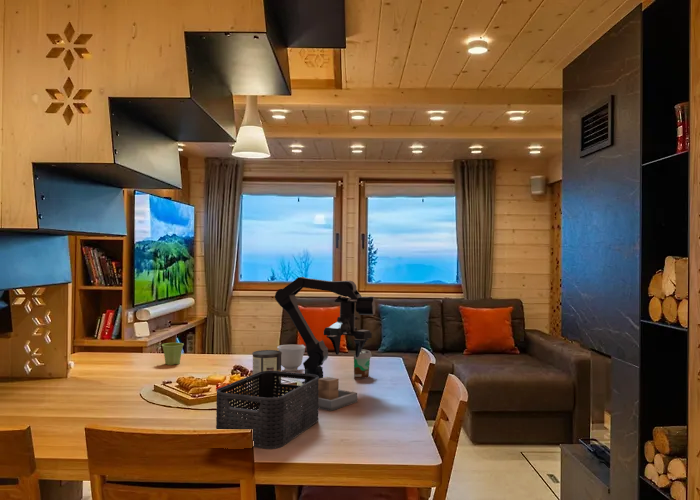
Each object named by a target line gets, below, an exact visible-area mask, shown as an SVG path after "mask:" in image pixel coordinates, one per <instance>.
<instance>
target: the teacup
mask: <svg viewBox="0 0 700 500" xmlns="http://www.w3.org/2000/svg"><path fill="white" fill-rule="evenodd" d="M276 348H277V351H281V352H282V354H281V367H283V369H284V370H283V372H292V373H294V372H297V371H298V370H299V369H298V368H299V367H301V365H302V364H303V357H304V354H305V352H306V345H304V344H290V343H289V344H280V345H278V346H277V347H276Z"/></svg>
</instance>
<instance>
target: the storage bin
mask: <svg viewBox="0 0 700 500" xmlns="http://www.w3.org/2000/svg"><path fill="white" fill-rule="evenodd" d="M279 377H281V378H287V379H297V380H304V381H305V380H306V383H305V384H304V383H302V384H301V385H296V384H288V383H282V382H281V383H280V380H279ZM258 378H259V379H258ZM318 379H319V376H317V375H313V374H305V373H299V372H288V371H282V370H281V371H262V372H259V373H256V374H253V373H252V374H251V375H248V376H246V377H244V378H241V379H239V380H236V381H234V382H232V383H228V384H227V385H224V386H221V387H219V388H217V389H216V403H215V404H216V410H215V411H216V413H215V414H216V417H215V419H216V421H215V423H216V424H215V430H216V429H253V441H254V447H253V448H258V449H264V450H265V449H266V450H273V449H274V450H276V449H280V448H282V447H284V446H285V445H286V444H288V443H290V442H291V441H292V440H294V439H295V438H297V437H298V436H300V435H301V434H302V433H304V432H305V431H306V430H308V429H309V428H311V427H312V426H314V425H315V424H316V423H317V422H319V408H318V407H319V404H318V400H319V397H318V393H319V390H318V386H319V383H318ZM275 380H276V381H275ZM310 380H311V381H310ZM275 383H276V384H275ZM253 384H254V385H253ZM258 385H259V386H258ZM275 386H276V387H275ZM278 387H280V388H278ZM258 388H259V389H258ZM278 390H280V391H278ZM253 391H254V392H253Z"/></svg>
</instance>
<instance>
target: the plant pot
mask: <svg viewBox="0 0 700 500" xmlns="http://www.w3.org/2000/svg"><path fill="white" fill-rule="evenodd" d="M184 345H185V344H184V342H183V343H182V342H166V343H162V344H161V347H162V349H163V355H164V364H165V365H167V366H173V365H179V364H180V363H181V356H182V351H183V346H184Z"/></svg>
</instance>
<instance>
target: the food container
mask: <svg viewBox="0 0 700 500" xmlns="http://www.w3.org/2000/svg"><path fill="white" fill-rule="evenodd" d="M372 357H373V356H372V353H371V351H370V350H368V349H365V348H364V349H363V348H362V350H361V352H360V354H359V356H358V357H356V354H355V353H353V378H354V379H355V380H357V379H361V380H362V379H367V378H368V377H370V376H369V375H370V366H371V365H370V362H371V358H372Z"/></svg>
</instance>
